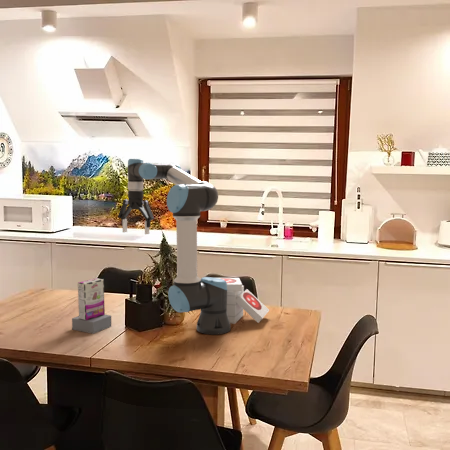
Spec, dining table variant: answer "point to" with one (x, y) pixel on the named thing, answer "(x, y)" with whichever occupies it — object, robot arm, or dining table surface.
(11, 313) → the dining table surface
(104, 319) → the grey block
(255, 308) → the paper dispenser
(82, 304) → the candy bar box
